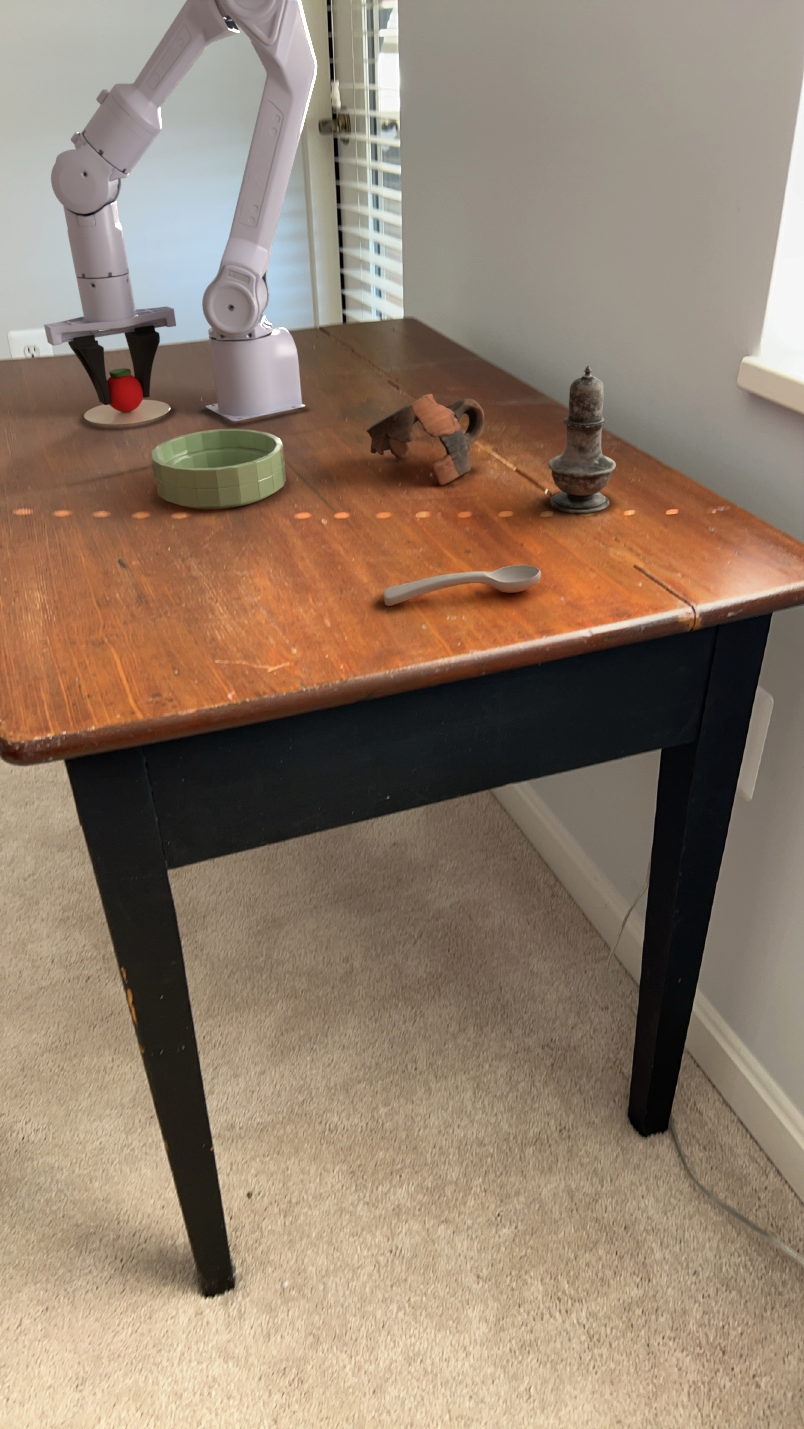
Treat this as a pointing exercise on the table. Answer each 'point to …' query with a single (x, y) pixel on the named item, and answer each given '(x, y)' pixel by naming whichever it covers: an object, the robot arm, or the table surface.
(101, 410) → the saucer
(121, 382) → the tomato
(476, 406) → the brown irregular piece
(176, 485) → the bowl
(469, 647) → the table surface
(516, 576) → the spoon
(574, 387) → the salt shaker
